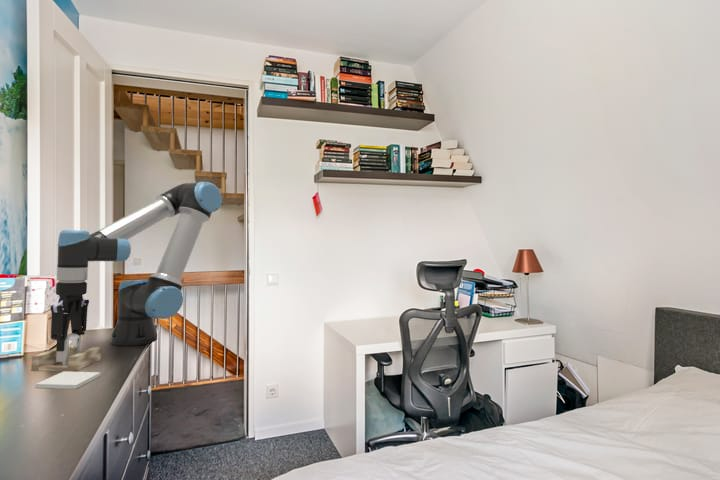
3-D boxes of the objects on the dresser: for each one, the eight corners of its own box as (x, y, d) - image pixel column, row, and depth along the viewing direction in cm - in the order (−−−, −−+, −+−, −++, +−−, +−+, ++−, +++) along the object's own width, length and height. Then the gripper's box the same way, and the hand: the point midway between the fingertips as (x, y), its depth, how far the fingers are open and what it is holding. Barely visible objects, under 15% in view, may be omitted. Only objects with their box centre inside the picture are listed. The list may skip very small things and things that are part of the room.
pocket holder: (61, 358, 124) (62, 345, 124) (100, 359, 125) (101, 346, 125) (31, 370, 112) (31, 356, 112) (74, 371, 113) (75, 357, 113)
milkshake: (55, 364, 118) (55, 331, 118) (76, 360, 122) (77, 328, 122) (58, 368, 115) (59, 334, 115) (80, 364, 119) (81, 331, 119)
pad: (63, 375, 110) (63, 371, 110) (100, 376, 110) (100, 372, 110) (35, 387, 100) (35, 384, 100) (75, 389, 100) (76, 385, 100)
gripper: (78, 278, 127) (75, 351, 127) (36, 283, 110) (32, 367, 110) (102, 279, 128) (99, 351, 127) (64, 284, 110) (59, 368, 110)
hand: (68, 359), depth 118 cm, fingers closed on milkshake, 4 cm apart
